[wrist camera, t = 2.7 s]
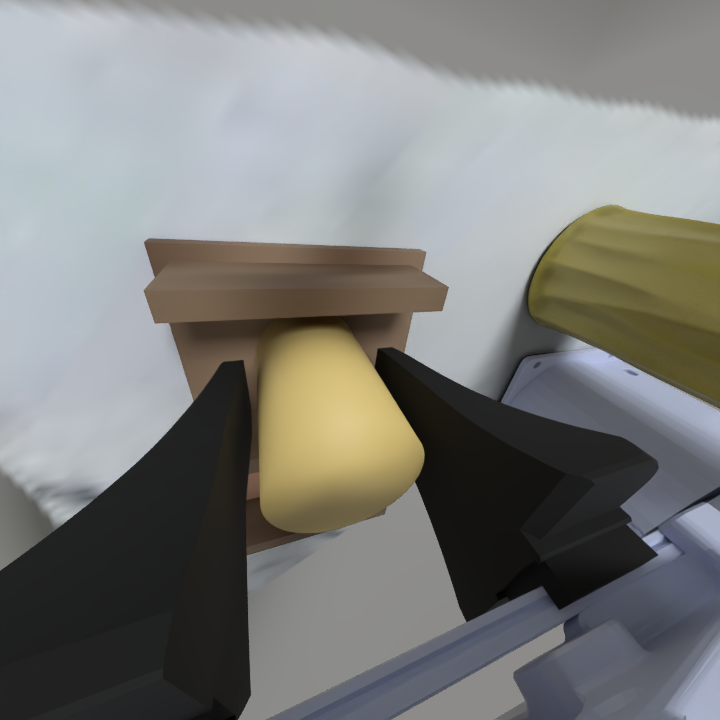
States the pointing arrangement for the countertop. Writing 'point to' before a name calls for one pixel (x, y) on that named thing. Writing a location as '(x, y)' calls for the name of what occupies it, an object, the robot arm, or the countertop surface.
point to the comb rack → (279, 313)
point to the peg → (327, 429)
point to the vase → (638, 293)
